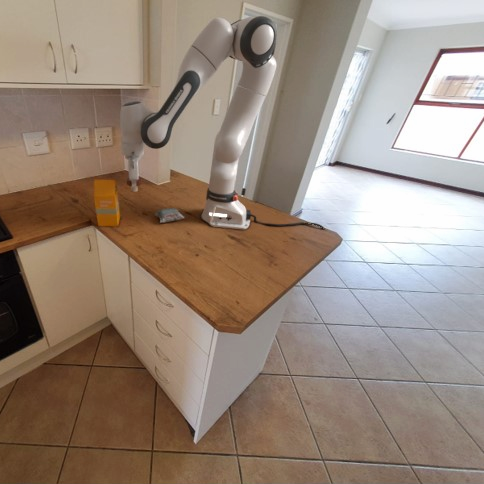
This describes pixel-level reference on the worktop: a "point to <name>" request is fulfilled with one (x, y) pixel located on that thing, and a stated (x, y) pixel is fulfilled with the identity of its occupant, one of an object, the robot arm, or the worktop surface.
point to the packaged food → (169, 215)
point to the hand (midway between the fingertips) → (134, 183)
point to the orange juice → (106, 202)
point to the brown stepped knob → (138, 182)
